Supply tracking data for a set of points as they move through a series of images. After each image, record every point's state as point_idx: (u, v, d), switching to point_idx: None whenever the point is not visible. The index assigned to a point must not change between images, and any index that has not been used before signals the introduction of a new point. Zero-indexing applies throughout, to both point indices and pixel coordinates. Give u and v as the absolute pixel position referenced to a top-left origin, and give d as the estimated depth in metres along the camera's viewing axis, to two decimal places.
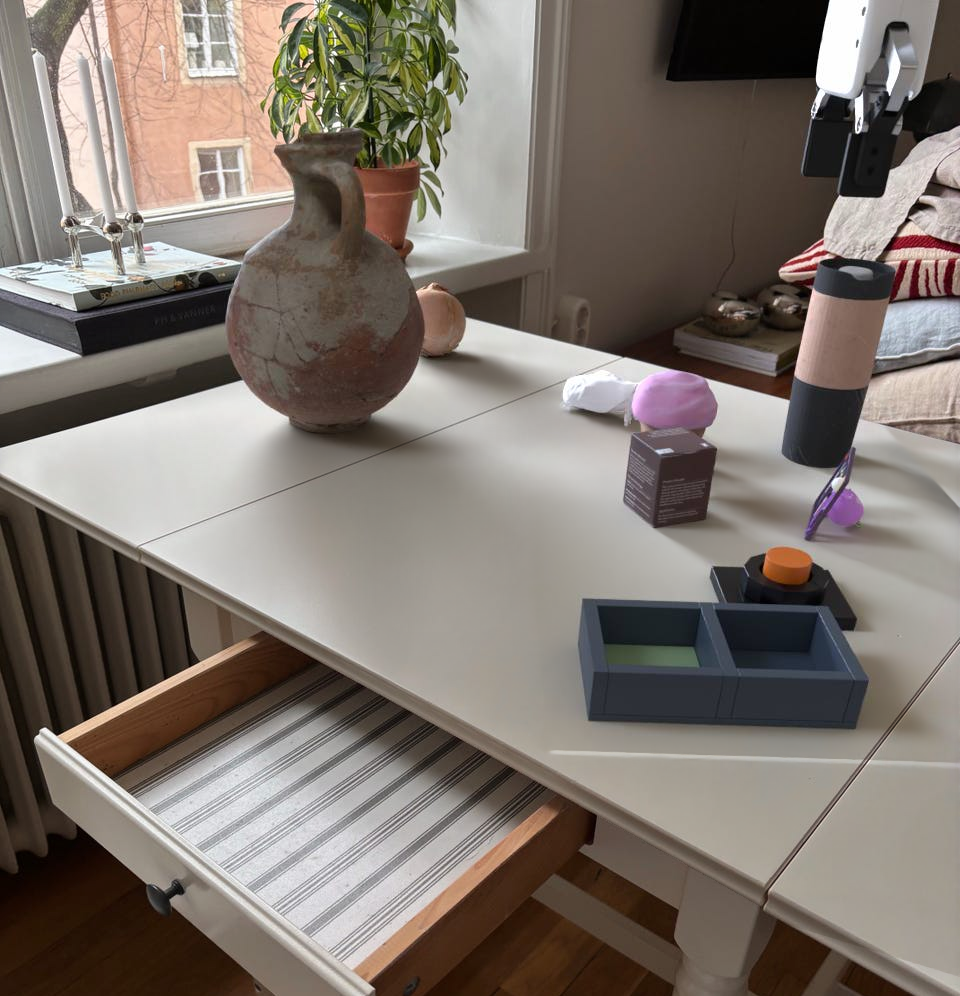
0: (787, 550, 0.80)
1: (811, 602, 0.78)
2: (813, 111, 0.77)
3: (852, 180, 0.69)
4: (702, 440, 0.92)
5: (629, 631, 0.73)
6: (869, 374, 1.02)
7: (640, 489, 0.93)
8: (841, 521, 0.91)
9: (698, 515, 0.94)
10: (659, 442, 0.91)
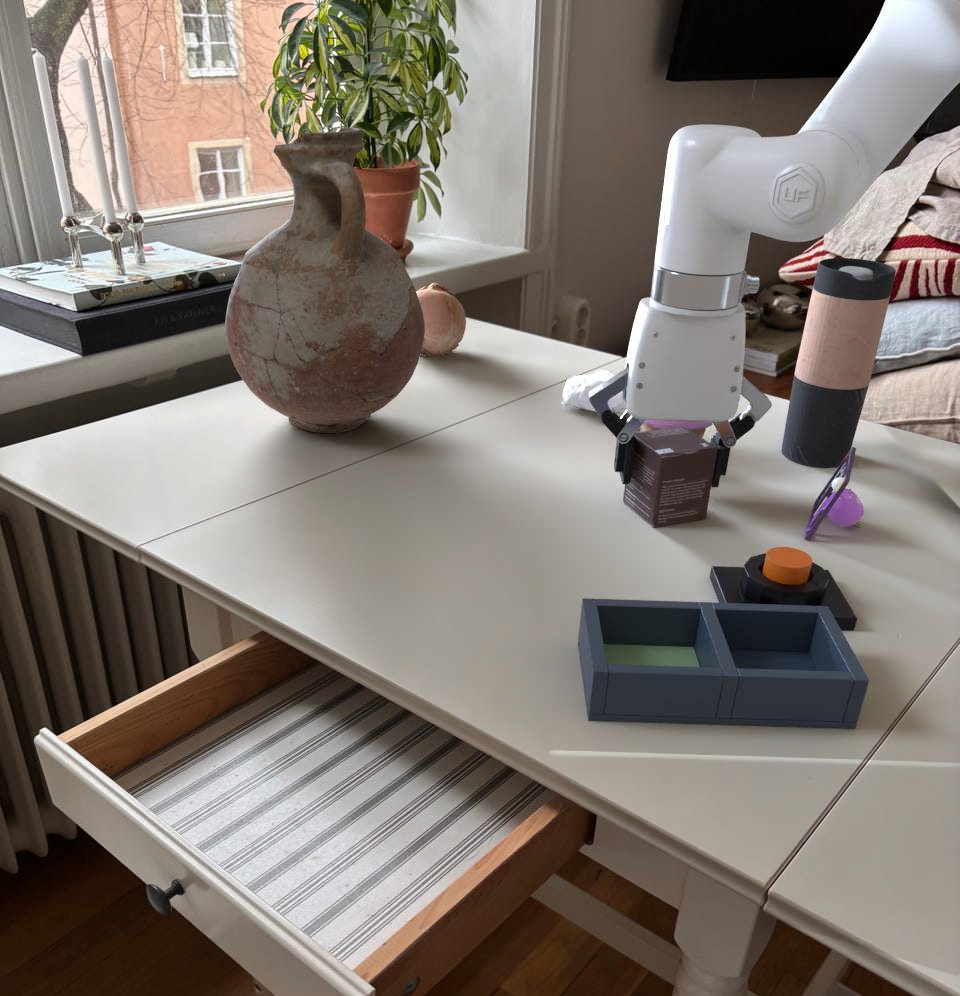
0: (787, 550, 0.80)
1: (811, 602, 0.78)
2: (620, 439, 0.90)
3: None
4: (702, 440, 0.92)
5: (629, 631, 0.73)
6: (869, 374, 1.02)
7: (640, 488, 0.93)
8: (841, 521, 0.91)
9: (698, 515, 0.94)
10: (659, 442, 0.91)
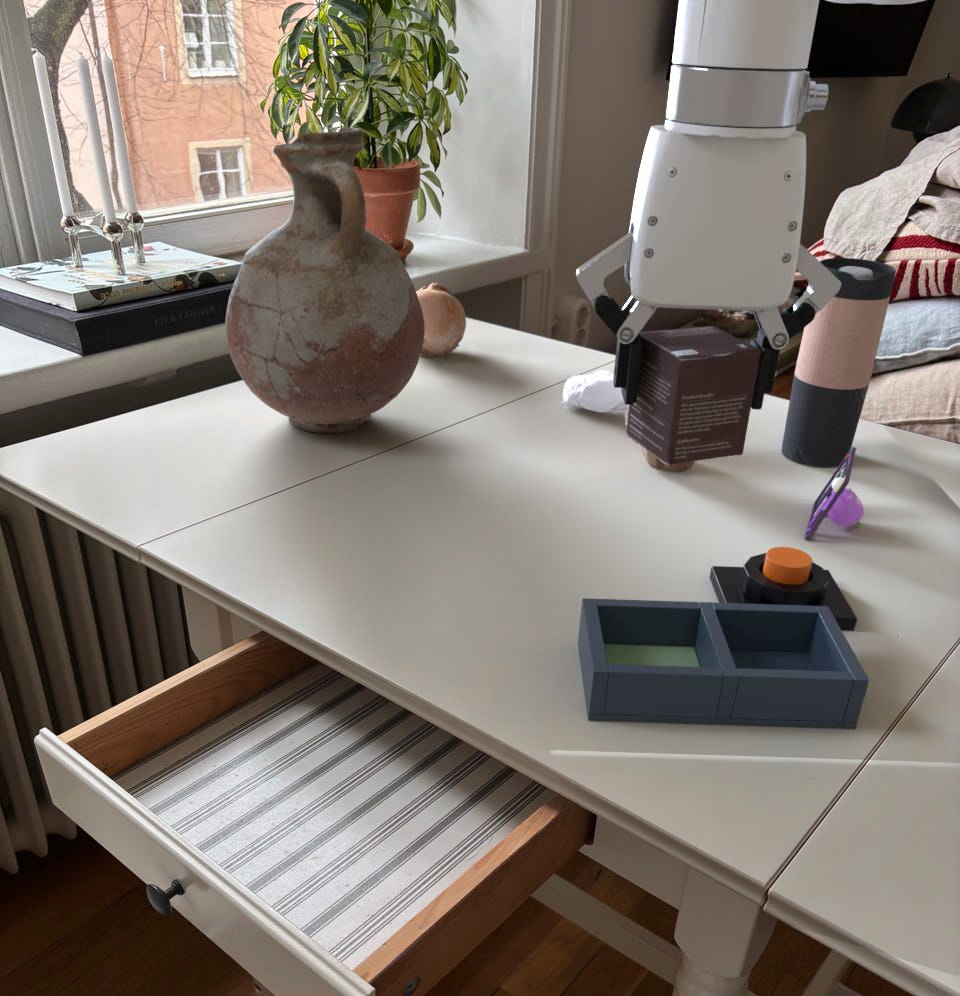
0: (787, 550, 0.80)
1: (811, 602, 0.78)
2: (622, 337, 0.63)
3: None
4: (739, 341, 0.64)
5: (629, 631, 0.73)
6: (869, 374, 1.02)
7: (650, 411, 0.66)
8: (841, 521, 0.91)
9: (732, 449, 0.66)
10: (678, 343, 0.64)
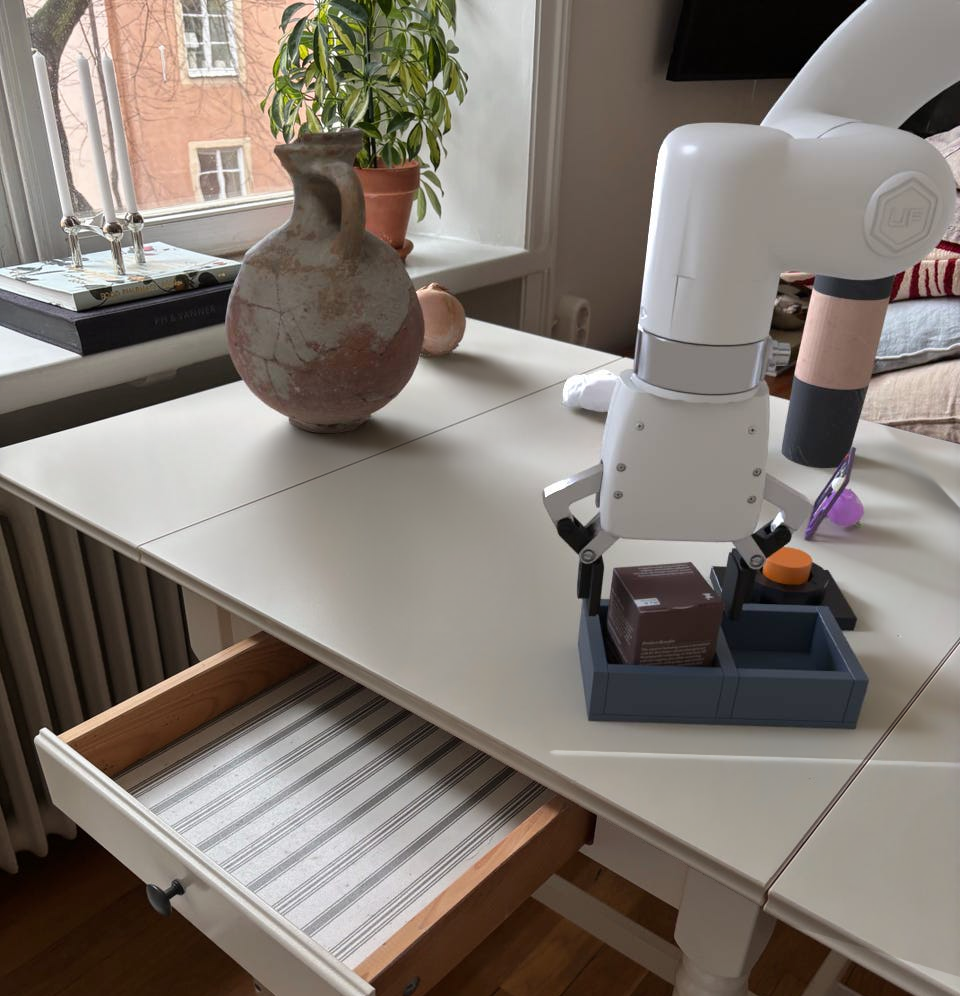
0: (787, 550, 0.80)
1: (811, 602, 0.78)
2: (583, 557, 0.64)
3: None
4: (707, 588, 0.67)
5: None
6: (869, 374, 1.02)
7: (619, 644, 0.68)
8: (841, 521, 0.91)
9: None
10: (646, 587, 0.66)
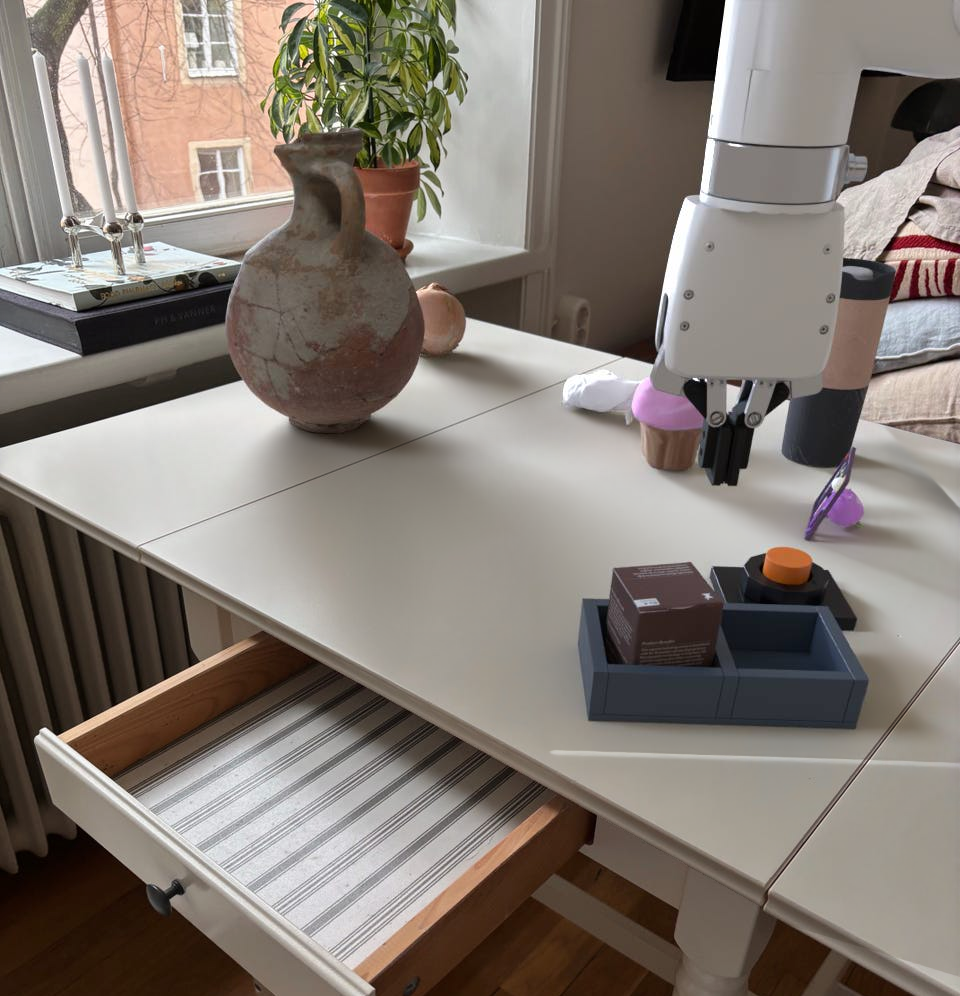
0: (787, 550, 0.80)
1: (811, 602, 0.78)
2: (714, 422, 0.62)
3: None
4: (707, 588, 0.67)
5: None
6: (869, 374, 1.02)
7: (618, 644, 0.68)
8: (841, 521, 0.91)
9: None
10: (645, 587, 0.66)
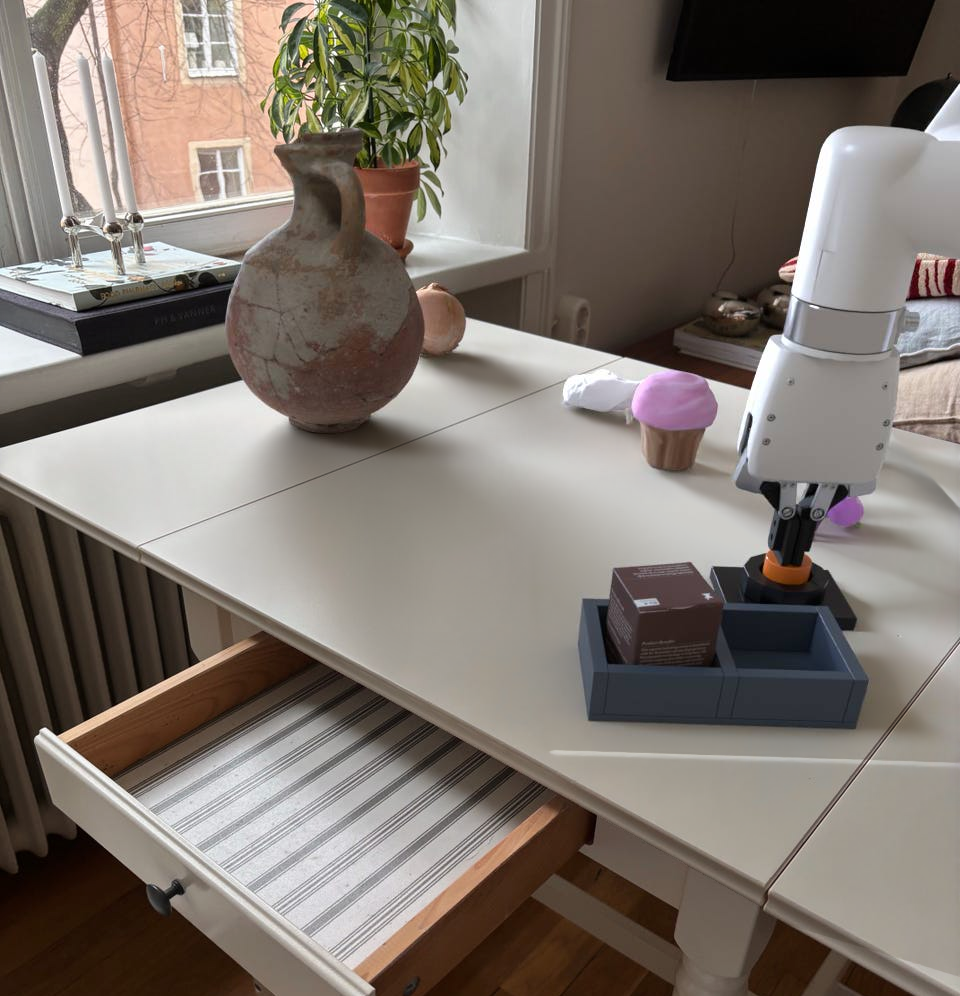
0: None
1: (811, 602, 0.78)
2: (785, 515, 0.76)
3: None
4: (707, 588, 0.67)
5: None
6: None
7: (618, 644, 0.68)
8: (841, 521, 0.91)
9: None
10: (645, 587, 0.66)
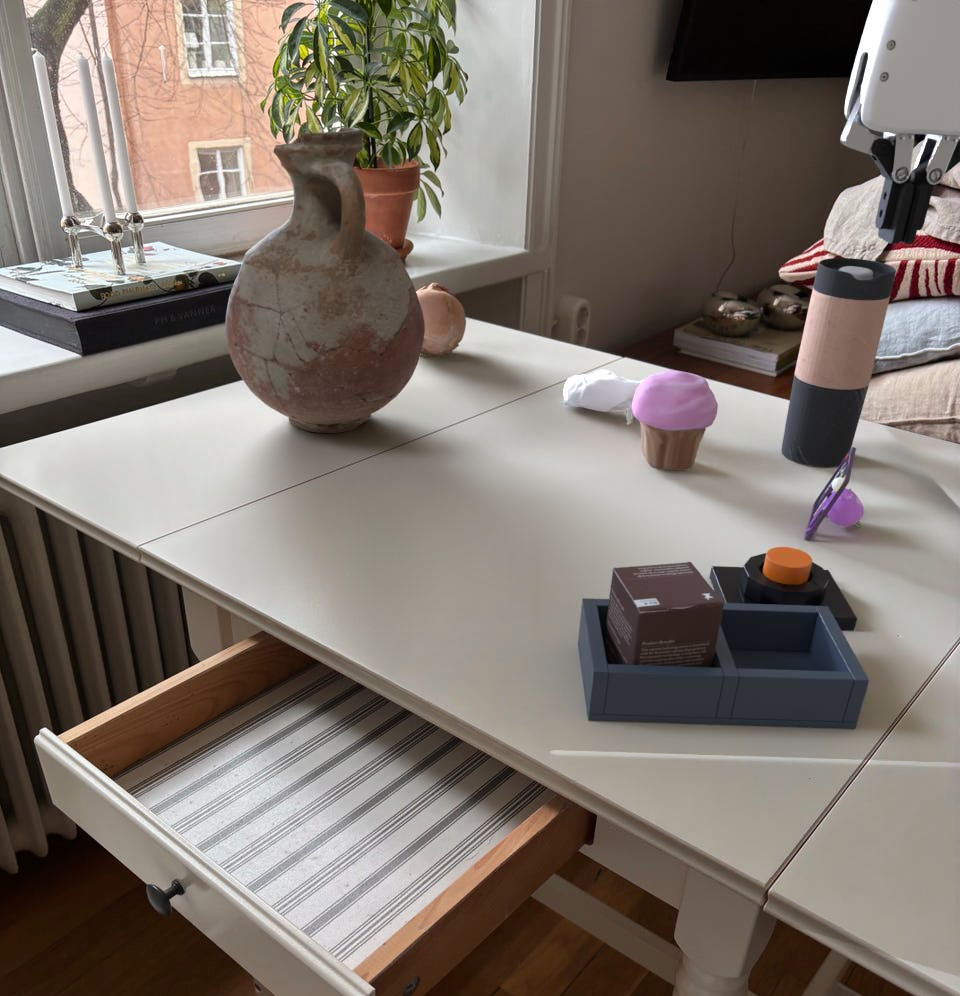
0: (787, 550, 0.80)
1: (811, 602, 0.78)
2: (899, 178, 0.69)
3: None
4: (707, 588, 0.67)
5: None
6: (869, 374, 1.02)
7: (618, 644, 0.68)
8: (841, 521, 0.91)
9: None
10: (645, 587, 0.66)
